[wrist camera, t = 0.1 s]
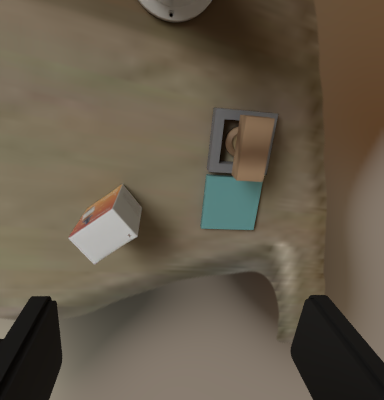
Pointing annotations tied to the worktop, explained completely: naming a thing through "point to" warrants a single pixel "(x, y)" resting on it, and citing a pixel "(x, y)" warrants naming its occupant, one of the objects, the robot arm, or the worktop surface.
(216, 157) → the socket
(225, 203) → the tile
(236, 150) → the t-key
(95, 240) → the small box
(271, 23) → the worktop surface
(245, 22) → the worktop surface
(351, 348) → the robot arm
